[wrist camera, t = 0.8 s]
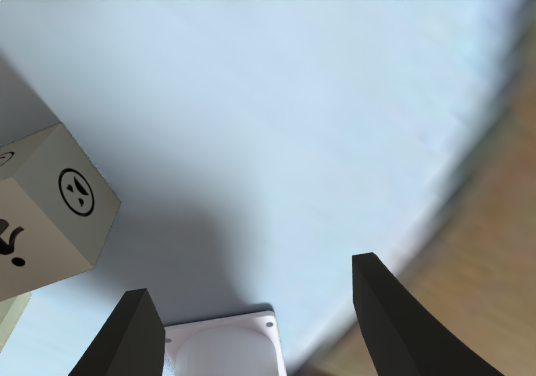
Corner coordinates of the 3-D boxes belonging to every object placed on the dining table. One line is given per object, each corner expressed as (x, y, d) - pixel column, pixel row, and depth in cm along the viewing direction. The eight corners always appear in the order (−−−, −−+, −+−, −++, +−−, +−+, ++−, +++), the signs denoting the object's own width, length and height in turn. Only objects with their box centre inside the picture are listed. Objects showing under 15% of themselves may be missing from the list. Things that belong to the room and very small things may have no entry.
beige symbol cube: (62, 121, 18) (11, 177, 14) (121, 201, 21) (94, 268, 17) (-28, 158, 19) (-102, 222, 14) (41, 231, 21) (-5, 303, 17)
